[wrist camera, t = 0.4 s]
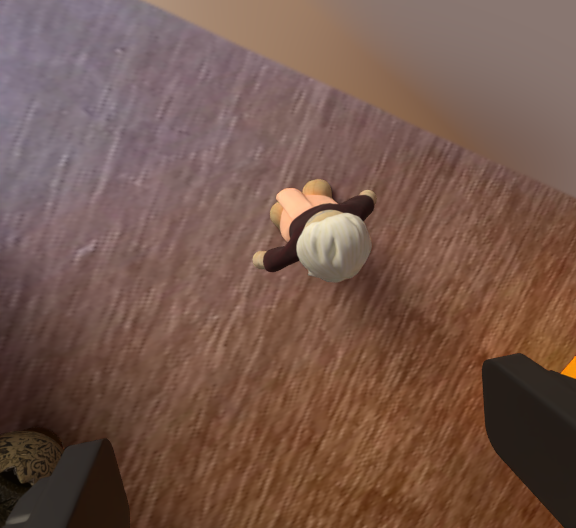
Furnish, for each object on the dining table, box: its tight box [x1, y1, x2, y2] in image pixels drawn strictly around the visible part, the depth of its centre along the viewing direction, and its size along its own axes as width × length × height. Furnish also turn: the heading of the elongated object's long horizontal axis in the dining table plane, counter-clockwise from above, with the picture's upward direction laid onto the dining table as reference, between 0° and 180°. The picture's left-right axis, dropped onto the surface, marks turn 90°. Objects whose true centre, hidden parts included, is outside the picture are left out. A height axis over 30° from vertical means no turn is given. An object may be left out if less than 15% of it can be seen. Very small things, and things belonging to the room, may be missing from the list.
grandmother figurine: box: [253, 179, 377, 282], centre depth 26 cm, size 8×4×13 cm, turn 130°
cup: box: [0, 427, 64, 528], centre depth 30 cm, size 8×7×8 cm
